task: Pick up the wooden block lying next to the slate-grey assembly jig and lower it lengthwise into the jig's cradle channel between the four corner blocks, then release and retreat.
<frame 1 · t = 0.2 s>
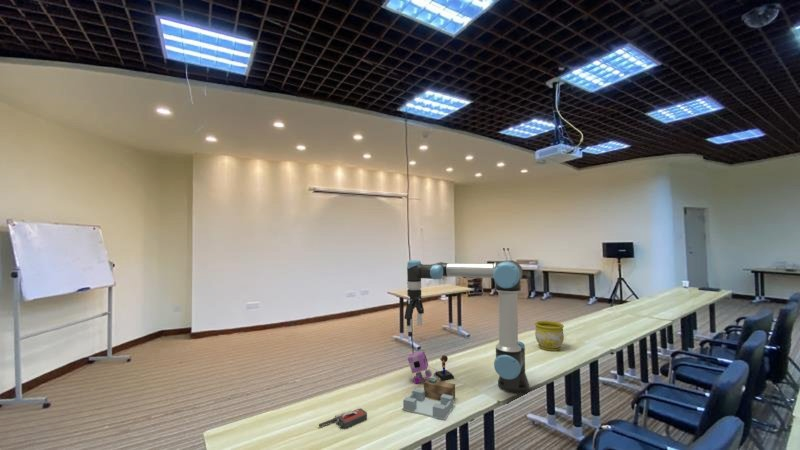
hand: (414, 328, 185), 27 cm above the table, fingers open, 13 cm apart
wooden block: (439, 398, 164), on the table
flowerpot: (549, 348, 234), on the table
toy: (420, 380, 184), on the table
walkie-talkie: (344, 424, 143), on the table
jig: (428, 408, 154), on the table
figurine: (443, 378, 188), on the table
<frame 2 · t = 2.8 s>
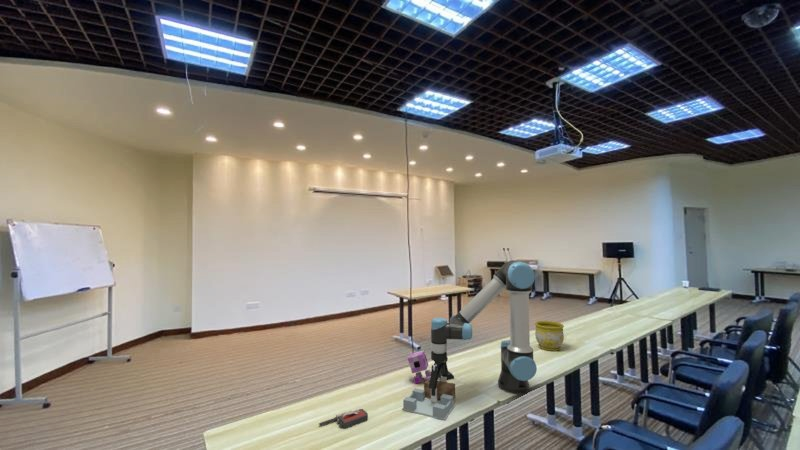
hand: (439, 396, 164), 1 cm above the table, fingers open, 13 cm apart
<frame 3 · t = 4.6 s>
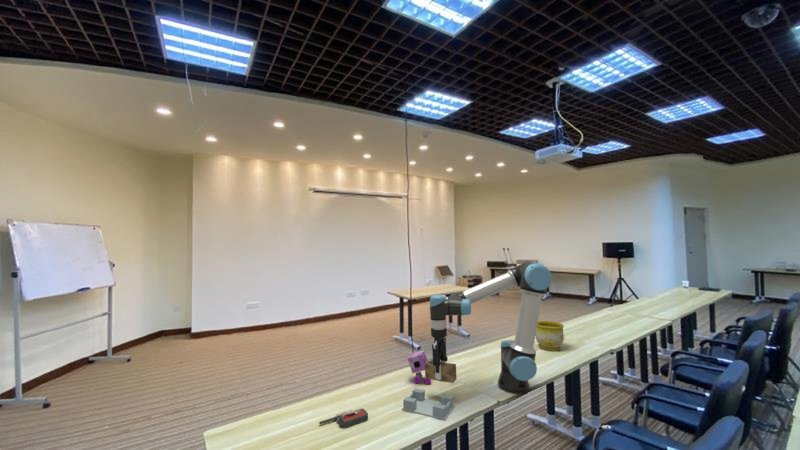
hand: (440, 376, 165), 10 cm above the table, fingers closed on wooden block, 5 cm apart
wooden block: (440, 378, 165), point 9 cm above the table, touching gripper
everything else where it was.
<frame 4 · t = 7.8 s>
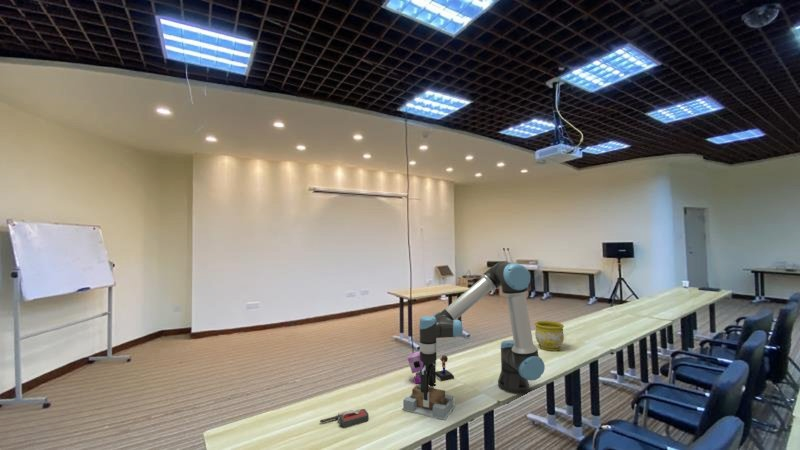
hand: (428, 403, 155), 2 cm above the table, fingers closed on wooden block, 5 cm apart
wooden block: (428, 405, 154), point 1 cm above the table, touching gripper
when the fingers open (2 cm above the table, at t = 7.9 s): wooden block stays where it is, resting on jig.
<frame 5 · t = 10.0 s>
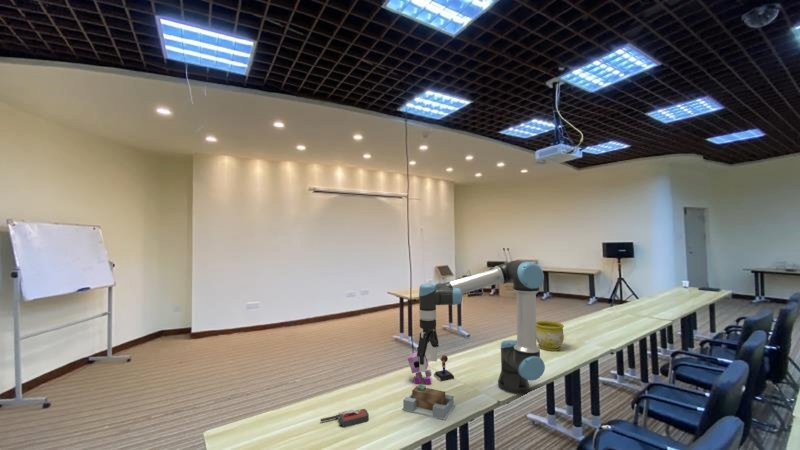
hand: (428, 366, 155), 19 cm above the table, fingers open, 13 cm apart
wooden block: (428, 406, 154), point 1 cm above the table, touching jig
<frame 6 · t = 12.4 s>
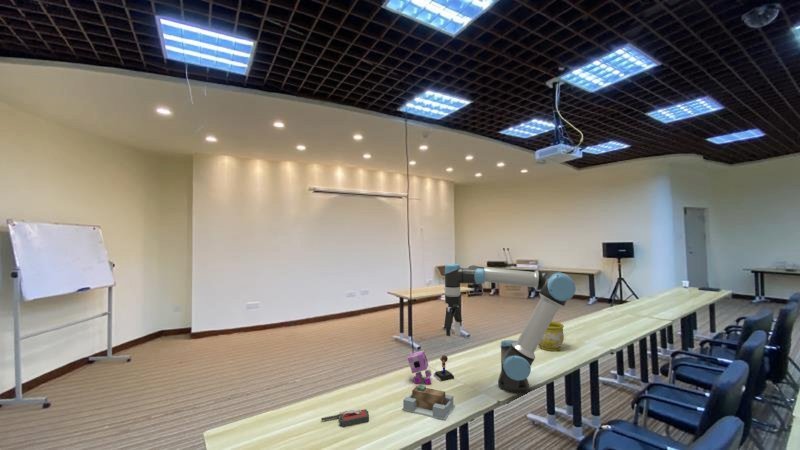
hand: (453, 338, 169), 27 cm above the table, fingers open, 13 cm apart
at the end: wooden block 0.1 cm off-centre on the jig, point 0.6 cm above the jig's base; wooden block tilted 0°; the gripper is holding nothing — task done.
